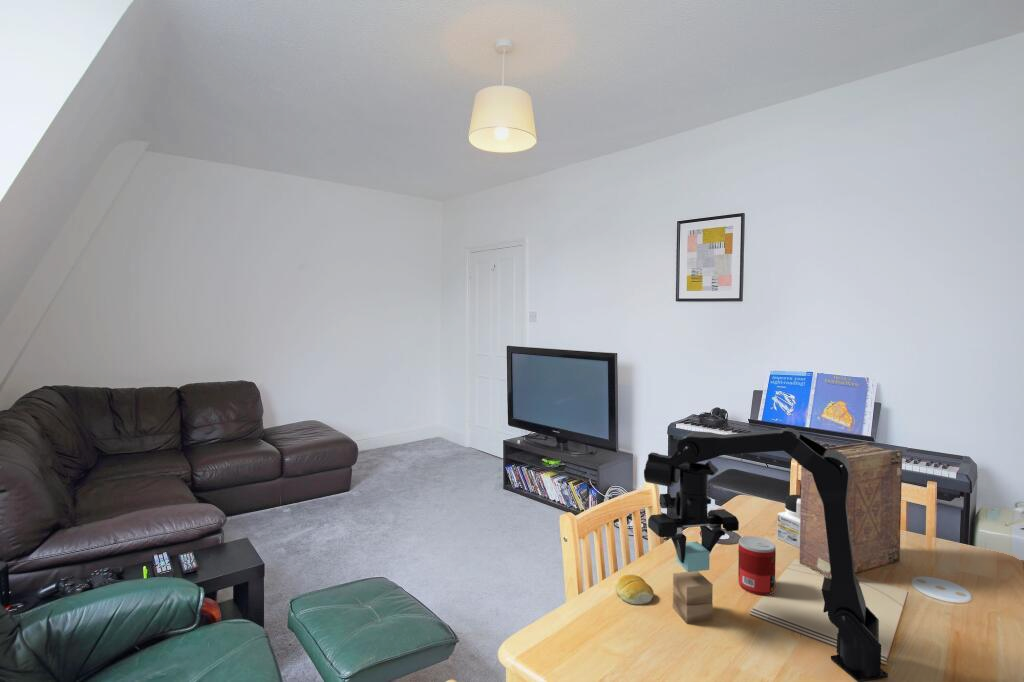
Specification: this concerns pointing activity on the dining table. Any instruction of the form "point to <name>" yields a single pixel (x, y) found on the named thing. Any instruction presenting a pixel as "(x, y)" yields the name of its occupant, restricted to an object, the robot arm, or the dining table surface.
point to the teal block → (695, 557)
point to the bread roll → (634, 590)
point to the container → (790, 521)
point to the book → (857, 510)
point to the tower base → (692, 611)
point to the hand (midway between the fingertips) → (692, 560)
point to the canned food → (756, 565)
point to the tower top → (692, 588)
